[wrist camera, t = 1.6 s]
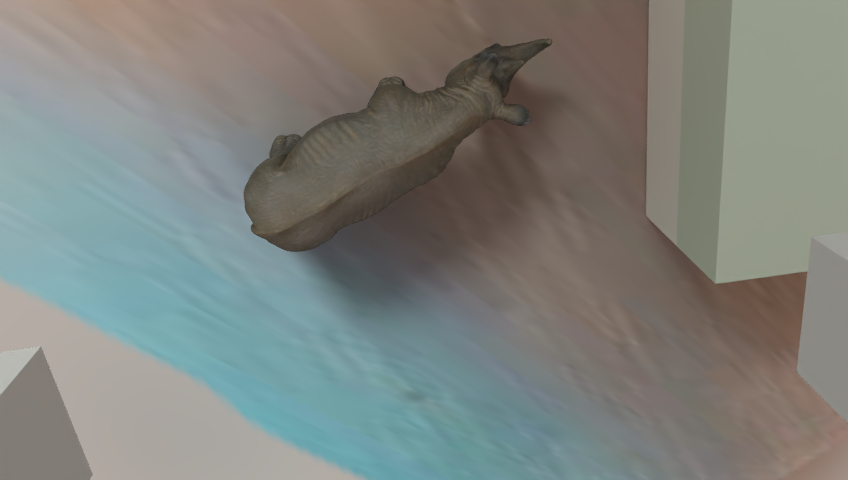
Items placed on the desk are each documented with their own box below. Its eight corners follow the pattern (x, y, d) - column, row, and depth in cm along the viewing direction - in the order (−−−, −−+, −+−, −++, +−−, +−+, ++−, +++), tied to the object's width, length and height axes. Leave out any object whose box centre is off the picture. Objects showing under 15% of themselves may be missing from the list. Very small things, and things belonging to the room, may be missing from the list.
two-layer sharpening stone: (652, -249, 25) (751, -318, 18) (925, -282, 25) (1118, -362, 18) (645, 215, 32) (715, 283, 25) (857, 187, 32) (979, 247, 25)
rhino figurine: (558, 80, 29) (601, 112, 24) (285, 235, 31) (266, 298, 25) (514, -9, 28) (550, 2, 22) (230, 160, 29) (198, 209, 24)
